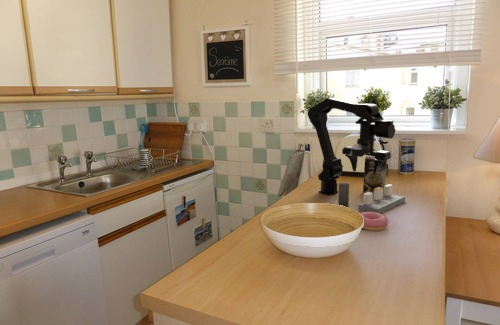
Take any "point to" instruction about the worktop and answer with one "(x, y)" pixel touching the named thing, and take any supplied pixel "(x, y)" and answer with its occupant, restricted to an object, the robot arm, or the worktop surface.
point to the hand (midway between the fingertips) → (364, 173)
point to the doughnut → (374, 221)
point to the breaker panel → (382, 204)
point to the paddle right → (388, 190)
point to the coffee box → (369, 178)
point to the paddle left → (367, 198)
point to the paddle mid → (378, 193)
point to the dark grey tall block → (343, 194)
